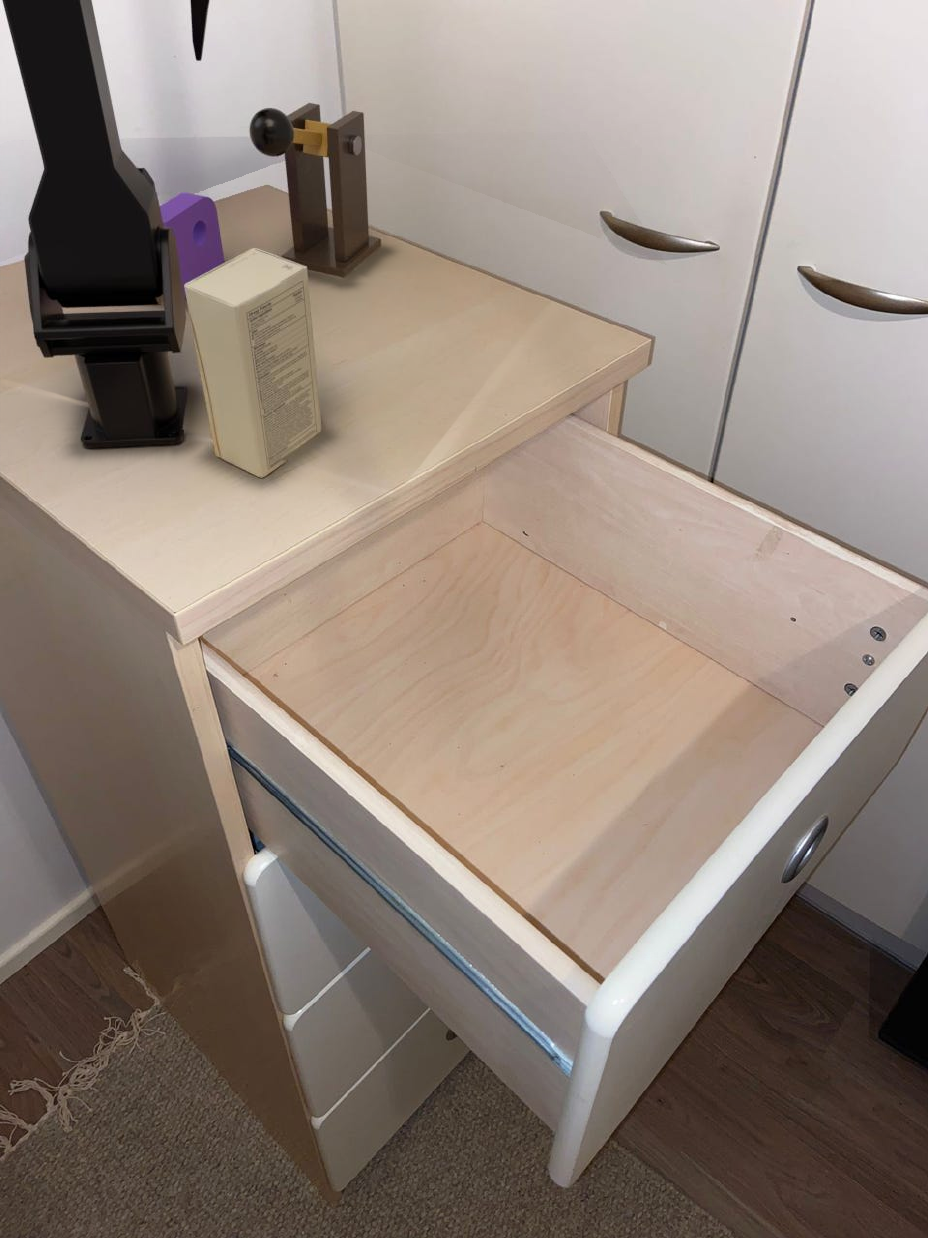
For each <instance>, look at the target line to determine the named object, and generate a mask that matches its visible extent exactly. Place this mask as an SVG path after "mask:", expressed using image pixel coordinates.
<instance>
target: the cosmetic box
mask: <svg viewBox="0 0 928 1238" xmlns="http://www.w3.org/2000/svg"><path fill="white" fill-rule="evenodd" d="M309 284H310V283H309V273H308V269H307V266H303V265H300V264H298V263H295V262H292V261H290V260H287V259H284V258H282V257H281V256H280V255H276V254H275V253H271V252H268V251H265V250H262V249H260V248H256V247H253V248H250V249H249V250H246V251H244V252H242V253H240V254H239V255H237V256H235V257H233V258H231V259H229V260H227V261H225V263H223V264H221V265H220V266H218V267H216V268H214V269H213V270H211V271H209V272H207V273H205V274H203V275H201V276H199V277H197V278H195V279H194V280H192V281H190V282H188V283H186V284H185V285H184V288H185V294H186V297H185V299H186V305H187V308H188V315H189V318H190V319H189V320H190V325H191V330H192V337H193V341H194V345H195V346H194V348H195V351H196V358H197V364H198V369H199V373H200V378H201V386H202V390H203V391H202V392H203V395H204V401H205V406H206V412H207V418H208V424H209V428H210V435H211V439H212V444H213V450H214V455H215V456H216V457H217V458H220V459H222V460H224V461H225V462H228V463H230V464H232V465H233V466H235V467H236V468H240V469H241V470H243V471H245V472H247V473H250V474H251V475H254V476H256V477H258V478H262V479H263V478H264V477H266V476H268V475H269V474H271V473H272V472H274V471H275V470H276V469H279V467H281V466H282V465H283V464H285V463H287V462H288V461H289V459H285V457H288V455H290V454H291V453H293V452H294V451H296V450H297V449H298V448H299V447H301V446H302V445H304V444H305V443H307V442H308V441H310V439H312V438H314V437H315V436H317V434H319V433H320V432H322V421H321V410H320V409H321V408H320V399H319V387H318V376H317V364H316V354H315V342H314V340H315V339H314V330H313V319H312V308H311V307H312V306H311V297H310V295H311V294H310V285H309Z"/></svg>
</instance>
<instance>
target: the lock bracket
mask: <svg viewBox="0 0 928 1238" xmlns="http://www.w3.org/2000/svg"><path fill="white" fill-rule="evenodd" d="M286 116H287V117H288V118H289V119H290V121H291V123H292V126H293V128H298V129H304V130H305V121H306V120H312V121H318V122H322V121H321V120H322V119H321V106H320V104H317V103H313V102H308V103H306V104H304V105H303V106H301V107H299V108H298V109H295V110H294V111H292V112H291V113H289V114H286ZM330 124H331V125H330V126H328V127H327V142H328V157H329V158H328V157H327V158H328V171H329V172H328V173H329V185H330V201H331V215H332V216H331V217H332V227H330V226H329V220H328V219H329V218H328V206H327V205H328V204H327V191H326V190H327V189H326V178H325V177H326V176H325V174H326V173H325V162H324V157H322V156H317V155H312V154H307V153H303V145H304V144H297V143H292V145H291V147H290V148H289V150H288V151H287V152H286V153H284V161H285V171H286V172H285V174H286V183H287V192H288V194H287V195H288V204H289V212H290V213H289V214H290V225H291V235H292V245H293V246H292V247H291V248H290V249H288V250H287V251H286V252H285V253H283V254H282V255H281V256H280V257H282V258H284V259H287V260H290V261H292V262H295V263H298V264H300V265H303V266H307V270H308V271H313V272H318V273H322V274H327V275H330V276H331V275H332V276H336V277H338V278H339V277H340V278H345V277H346V276H348V275H349V274H350V273H351V272H352V271H353V270H355V269H356V268H357V267H358V266H359V265H360V264H362V263H363V262H364V261H365V260H367V259H368V258H369V257H370V256H371V255H373V253H374V252H376V251H377V250H378V249H379V248H380V247H381V246H382V238H381V237H376V236H372V235H370V234H369V210H368V208H369V207H368V189H367V188H368V185H367V184H368V183H367V162H366V161H367V160H366V158H367V157H366V138H365V137H366V136H365V113H364V112H362V111H357V110H352V111H350V112H349V113H347V114H346V115H344V116H342V117H341V118H339V119H338V120H335V121H334V122H333V123H330Z"/></svg>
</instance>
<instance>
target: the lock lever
mask: <svg viewBox="0 0 928 1238" xmlns="http://www.w3.org/2000/svg"><path fill="white" fill-rule="evenodd" d="M331 124H332V123H329V122H323V121H321V122H318V121H312V120H306V121H305V130H304V129H298V128H293V126H292V123H291V121H290V119H289V118H288V117H287V114H286V113H284V112H283V111H282V110H279V109H278V108H274V107H265V108H262V109H260V110H259V111H257V112H256V113H254V115H253V116H252V118H251V121H250V124H249V127H248V128H249V130H248V131H249V137H250V138H249V139H250V140H251V143H252V145H253V147H254V148H255V149H256V150H257V151H258V152H259V153H261V154H262V155H264V156H267V157H271V158H272V157H274V158H276V157H280V156H283V155H285V153H286V152H287V151H288V150H289V148H290V147H291V145H292V143H297V144H304V145H303V153H307V154H312V155H317V156H322V157H323V158H327V159H329V157H328V142H327V127H328V126H330V125H331Z"/></svg>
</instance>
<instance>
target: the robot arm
mask: <svg viewBox="0 0 928 1238" xmlns="http://www.w3.org/2000/svg"><path fill="white" fill-rule="evenodd" d="M1 1H2V4H3V7H4V8H3V9H4V14H5V17H6V20H7V25H8V29H9V33H10V37H11V41H12V45H13V48H14V53H15V56H16V60H17V65H18V67H19V72H20V76H21V80H22V84H23V88H24V92H25V96H26V100H27V104H28V108H29V112H30V116H31V121H32V124H33V127H34V132H35V136H36V140H37V145H38V149H39V152H40V156H41V160H42V166H43V171H42V174H41V178H40V180H39V184H38V186H37V190H36V191H35V196H34V198H33V202H32V205H31V209H30V211H29V213H28V226H29V230H30V232H29V234H28V241H27V252H26V254H25V255H24V257H23V259H24V268H25V276H26V277H25V278H26V287H27V295H28V296H27V297H28V305H29V311H30V317H31V321H32V328H33V329H32V330H33V337H34V339H35V344H36V346H37V348H38V349H39V350H40V352H41V354H42V356H43V358H44V359H45V358H47V359H48V358H54V357H57V356H58V357H62V356H63V357H65V356H74V359H75V362H76V365H77V366H76V367H77V369H78V374H79V377H80V380H81V383H82V387H83V392H84V394H85V399H86V402H87V405H88V409H87V414H86V417H85V421H84V424H83V427H82V432H81V435H80V443H81V446H82V447H83V448H108V447H111V448H112V447H129V446H130V447H131V446H151V445H152V446H153V445H154V446H155V445H174V444H178V443H181V442H182V441H183V439H184V432H185V431H184V429H183V427H184V421H185V414H186V413H185V412H186V407H187V398H188V392H189V389H188V387H187V386H183V385H175V384H174V378H173V373H172V372H173V371H172V368H171V364H170V358H169V354H168V353H172V354H180V353H181V354H182V348H183V342H184V335H185V329H186V323H187V313H186V307H185V298H184V297H183V290H182V282H181V274H180V267H179V259H178V252H177V245H176V240H175V236H174V233H173V230H172V228H171V227H164V225H163V220H162V215H161V211H160V206H161V205H160V202H159V195H158V193H157V191H156V183H155V180H154V179H153V178H152V176H151V175H150V173H149V172H148V171H147V169H146V168H145V167H137V166H136V164H135V163H134V162H133V161H132V160H131V159H130V157H129V156H128V155H127V154H126V152H125V151H124V150H123V149H122V145H121V141H120V135H119V131H118V125H117V120H116V116H115V111H114V105H113V99H112V95H111V90H110V85H109V81H108V76H107V71H106V65H105V61H104V56H103V55H104V54H103V51H102V46H101V41H100V35H99V31H98V25H97V21H96V16H95V11H94V5H93V0H1ZM189 2H190V3H189V4H190V20H191V21H190V22H191V37H192V46H193V51H194V52H193V53H194V57H195V61H197V62H201V61H202V59H203V52H204V44H205V37H206V30H207V29H206V28H207V23H208V14H209V6H210V0H189ZM163 297H164V298H163ZM162 304H163V307H164V310H163V309H161V310H132V311H131V310H129V311H102V312H101V311H100V312H99V311H98V312H76V313H75V312H71V313H69V312H68V313H64V310H63V309H64V308H65V309H78V308H83V309H84V308H108V307H109V308H110V307H111V308H113V307H114V308H115V307H141V306H143V307H145V306H162ZM181 389H182V390H183V391H179V390H181Z"/></svg>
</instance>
